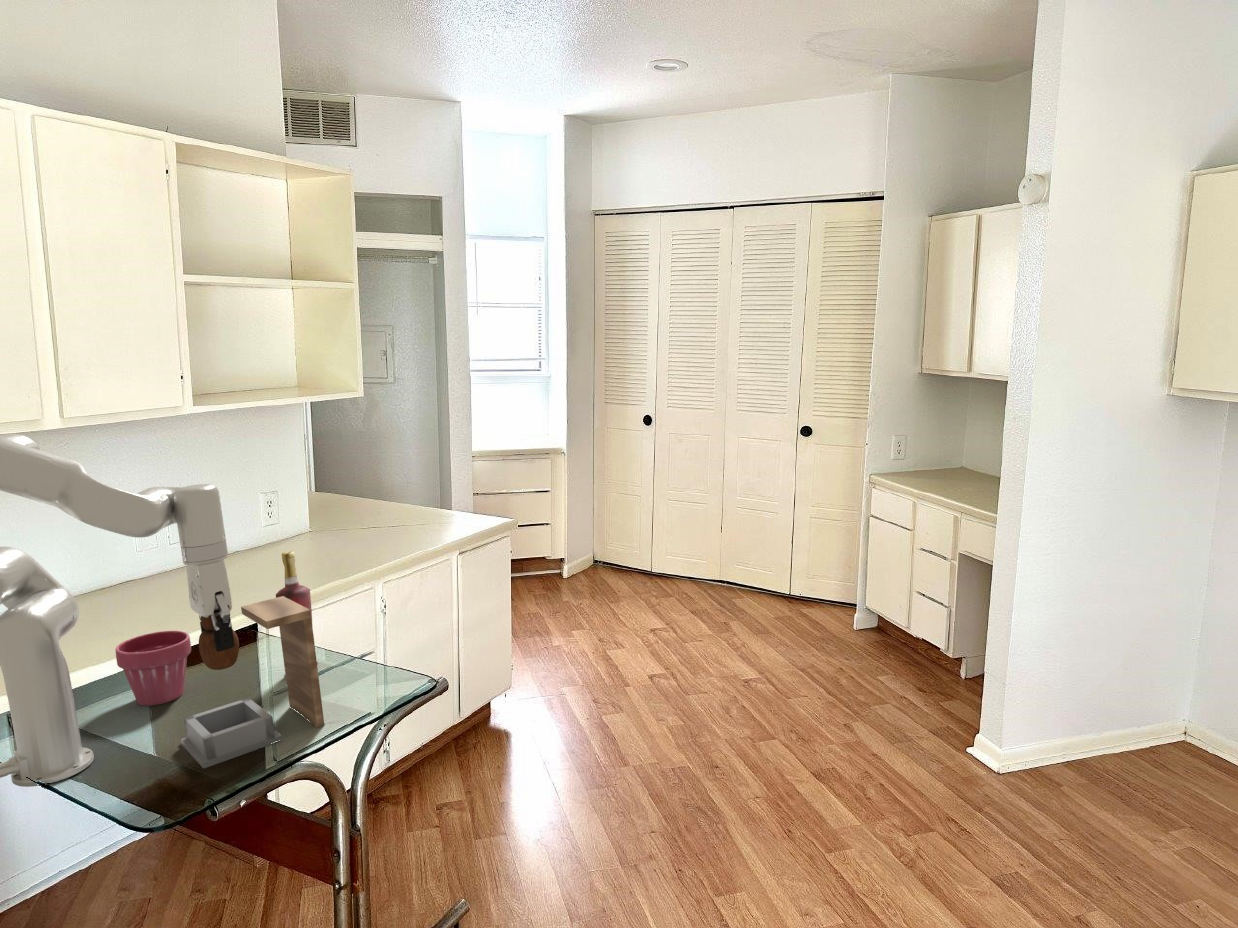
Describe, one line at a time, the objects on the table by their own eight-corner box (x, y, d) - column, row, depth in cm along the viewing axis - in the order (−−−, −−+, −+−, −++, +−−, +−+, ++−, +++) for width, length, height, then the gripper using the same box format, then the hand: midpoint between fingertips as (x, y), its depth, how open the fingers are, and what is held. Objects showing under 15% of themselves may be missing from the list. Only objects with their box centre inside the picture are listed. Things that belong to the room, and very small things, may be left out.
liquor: (324, 664, 199) (310, 548, 194) (312, 677, 191) (297, 556, 187) (293, 666, 199) (278, 549, 195) (280, 678, 192) (264, 558, 187)
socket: (203, 768, 152) (199, 742, 151) (181, 743, 162) (177, 719, 161) (282, 740, 161) (278, 715, 160) (256, 718, 171) (252, 695, 171)
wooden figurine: (195, 671, 158) (183, 593, 155) (220, 659, 163) (208, 584, 161) (224, 674, 155) (212, 595, 153) (247, 662, 161) (236, 585, 158)
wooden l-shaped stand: (282, 740, 161) (266, 621, 157) (256, 718, 171) (240, 606, 168) (324, 725, 166) (310, 609, 163) (296, 704, 177) (283, 596, 173)
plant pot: (210, 682, 192) (202, 628, 190) (172, 710, 178) (163, 652, 176) (151, 684, 193) (142, 630, 191) (108, 711, 179) (99, 653, 177)
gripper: (169, 549, 160) (183, 640, 163) (197, 564, 147) (212, 661, 150) (211, 541, 165) (224, 628, 168) (241, 554, 152) (255, 649, 155)
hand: (218, 643), depth 159 cm, fingers closed on wooden figurine, 7 cm apart
